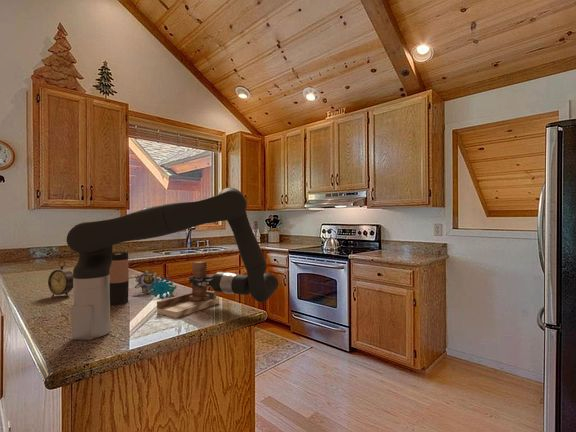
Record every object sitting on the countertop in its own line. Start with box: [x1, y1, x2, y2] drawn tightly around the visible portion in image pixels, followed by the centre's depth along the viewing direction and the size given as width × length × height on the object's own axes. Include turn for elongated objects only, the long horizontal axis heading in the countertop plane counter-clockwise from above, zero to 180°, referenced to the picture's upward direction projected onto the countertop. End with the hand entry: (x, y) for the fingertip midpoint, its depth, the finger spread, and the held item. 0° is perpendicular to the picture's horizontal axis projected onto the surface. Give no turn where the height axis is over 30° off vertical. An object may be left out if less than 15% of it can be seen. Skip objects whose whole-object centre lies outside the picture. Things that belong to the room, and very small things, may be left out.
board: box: [156, 289, 220, 319], centre depth 120 cm, size 21×10×4 cm, turn 150°
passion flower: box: [134, 269, 161, 295], centre depth 149 cm, size 11×11×12 cm
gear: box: [149, 277, 178, 299], centre depth 140 cm, size 11×6×10 cm
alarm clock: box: [47, 259, 73, 298], centre depth 141 cm, size 11×5×16 cm, turn 73°
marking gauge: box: [189, 261, 209, 302], centre depth 124 cm, size 6×6×15 cm
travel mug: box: [110, 251, 130, 306], centre depth 130 cm, size 8×8×20 cm
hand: (194, 278), depth 126 cm, fingers closed on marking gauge, 4 cm apart
